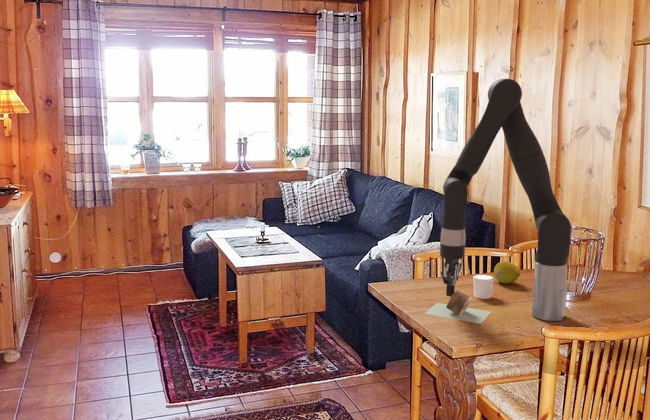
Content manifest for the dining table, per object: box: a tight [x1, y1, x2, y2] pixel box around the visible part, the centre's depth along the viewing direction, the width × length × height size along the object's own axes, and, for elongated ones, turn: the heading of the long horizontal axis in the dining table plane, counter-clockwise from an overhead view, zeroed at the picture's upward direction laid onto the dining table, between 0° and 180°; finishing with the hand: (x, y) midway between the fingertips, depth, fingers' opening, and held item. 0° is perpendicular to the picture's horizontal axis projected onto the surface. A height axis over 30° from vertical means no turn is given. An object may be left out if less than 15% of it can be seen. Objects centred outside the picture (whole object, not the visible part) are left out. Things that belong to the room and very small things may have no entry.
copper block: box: [446, 289, 472, 316], centre depth 211 cm, size 5×5×5 cm
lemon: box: [493, 260, 521, 285], centre depth 242 cm, size 11×8×8 cm
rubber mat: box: [423, 302, 492, 324], centre depth 211 cm, size 18×12×1 cm, turn 61°
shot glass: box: [472, 273, 495, 300], centre depth 227 cm, size 7×7×7 cm
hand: (450, 295), depth 212 cm, fingers closed
